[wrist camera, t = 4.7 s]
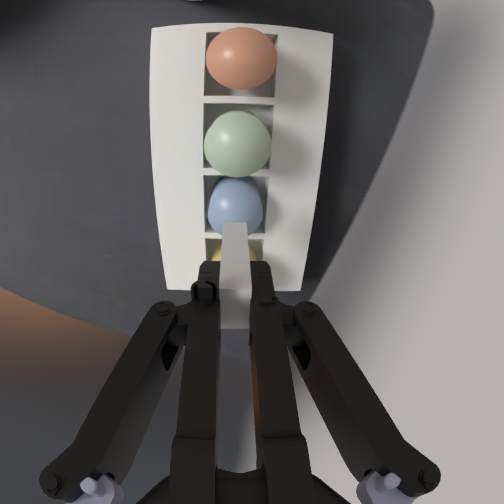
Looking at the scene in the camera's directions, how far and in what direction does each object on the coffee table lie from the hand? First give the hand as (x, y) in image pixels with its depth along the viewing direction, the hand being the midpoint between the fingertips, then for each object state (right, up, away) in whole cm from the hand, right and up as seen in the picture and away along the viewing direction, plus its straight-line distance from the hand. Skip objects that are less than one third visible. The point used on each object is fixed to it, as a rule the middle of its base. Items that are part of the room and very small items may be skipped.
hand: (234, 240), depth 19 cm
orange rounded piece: (0, +14, -1) cm, 14 cm away
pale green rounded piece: (0, +9, +2) cm, 9 cm away
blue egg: (0, +5, +7) cm, 9 cm away
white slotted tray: (0, +8, +7) cm, 10 cm away
